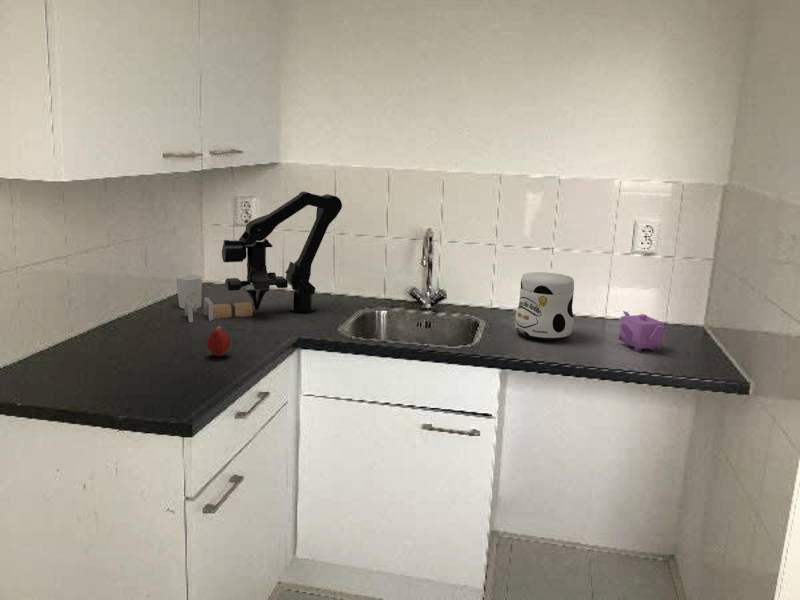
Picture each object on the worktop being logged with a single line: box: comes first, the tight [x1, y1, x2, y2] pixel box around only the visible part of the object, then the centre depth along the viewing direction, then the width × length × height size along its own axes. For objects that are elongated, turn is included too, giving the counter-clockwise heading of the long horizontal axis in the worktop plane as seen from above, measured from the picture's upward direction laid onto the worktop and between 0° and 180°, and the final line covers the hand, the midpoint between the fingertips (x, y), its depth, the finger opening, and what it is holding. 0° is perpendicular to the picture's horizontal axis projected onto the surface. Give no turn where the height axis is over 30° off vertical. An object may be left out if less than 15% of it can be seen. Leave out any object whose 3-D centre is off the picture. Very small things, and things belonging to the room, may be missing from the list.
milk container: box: [514, 271, 575, 341], centre depth 214 cm, size 17×17×18 cm
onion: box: [206, 326, 231, 358], centre depth 184 cm, size 6×6×8 cm
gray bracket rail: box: [184, 296, 214, 323], centre depth 221 cm, size 7×11×5 cm, turn 25°
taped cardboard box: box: [213, 301, 254, 320], centre depth 224 cm, size 12×4×4 cm, turn 115°
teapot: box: [618, 310, 665, 353], centre depth 206 cm, size 18×13×10 cm
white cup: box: [175, 273, 203, 310], centre depth 232 cm, size 8×8×10 cm
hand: (256, 309), depth 228 cm, fingers closed
